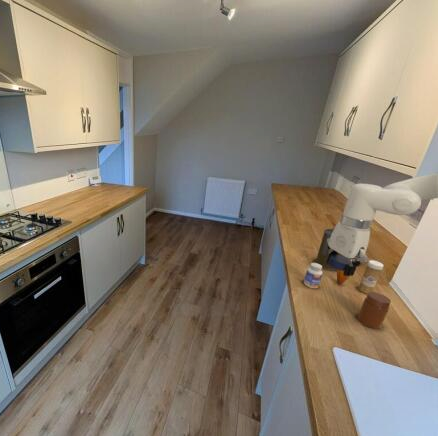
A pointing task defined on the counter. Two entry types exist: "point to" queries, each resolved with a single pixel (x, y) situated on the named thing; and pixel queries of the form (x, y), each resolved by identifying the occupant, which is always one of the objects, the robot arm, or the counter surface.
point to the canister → (325, 251)
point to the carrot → (341, 277)
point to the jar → (374, 310)
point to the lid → (338, 262)
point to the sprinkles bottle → (370, 276)
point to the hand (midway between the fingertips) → (339, 268)
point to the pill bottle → (313, 275)
